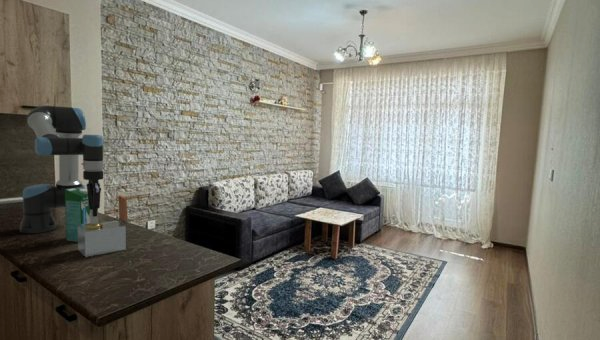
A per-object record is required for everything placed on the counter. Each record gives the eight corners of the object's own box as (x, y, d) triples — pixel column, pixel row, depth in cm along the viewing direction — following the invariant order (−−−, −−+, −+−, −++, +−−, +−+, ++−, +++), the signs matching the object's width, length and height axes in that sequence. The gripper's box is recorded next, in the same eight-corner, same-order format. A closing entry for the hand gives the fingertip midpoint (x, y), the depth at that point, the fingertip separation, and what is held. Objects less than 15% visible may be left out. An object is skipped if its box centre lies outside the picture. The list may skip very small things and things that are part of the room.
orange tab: (122, 220, 159) (118, 220, 158) (120, 195, 158) (117, 195, 157) (128, 224, 153) (125, 224, 152) (127, 198, 152) (123, 198, 151)
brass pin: (84, 250, 148) (83, 223, 147) (100, 247, 153) (100, 221, 152) (88, 254, 144) (87, 227, 143) (104, 251, 149) (104, 224, 147)
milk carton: (81, 242, 158) (80, 190, 156) (65, 240, 160) (64, 189, 157) (97, 236, 167) (96, 188, 165) (81, 235, 169) (80, 186, 166)
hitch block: (78, 249, 149) (77, 225, 148) (117, 242, 160) (116, 220, 159) (85, 257, 141) (84, 232, 140) (125, 249, 152) (125, 226, 151)
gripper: (79, 168, 146) (80, 221, 149) (87, 172, 137) (88, 227, 140) (98, 168, 152) (99, 218, 154) (107, 171, 143) (108, 225, 145)
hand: (94, 223), depth 147 cm, fingers closed
